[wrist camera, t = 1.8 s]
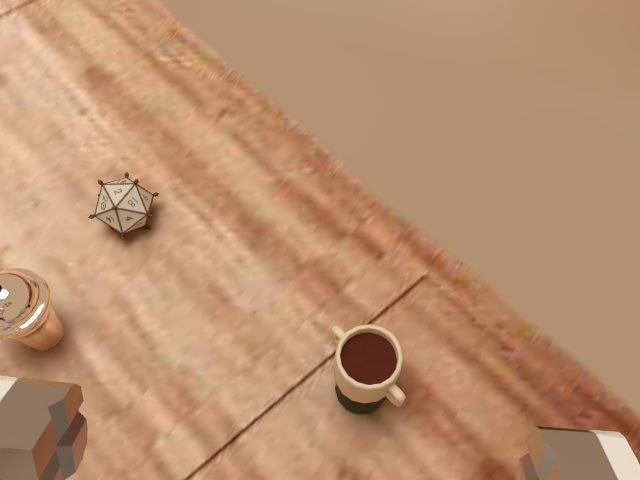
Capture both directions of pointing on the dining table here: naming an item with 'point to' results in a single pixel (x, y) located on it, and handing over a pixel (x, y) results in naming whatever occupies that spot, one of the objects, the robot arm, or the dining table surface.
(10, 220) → the dining table surface
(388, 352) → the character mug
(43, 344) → the cup with straw
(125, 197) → the game die
